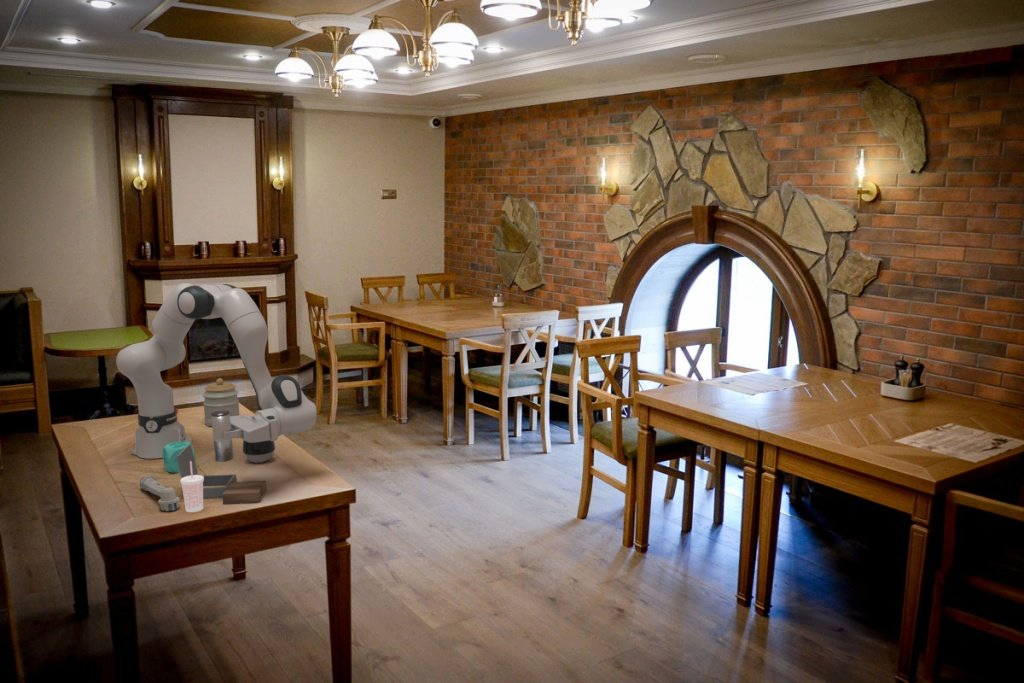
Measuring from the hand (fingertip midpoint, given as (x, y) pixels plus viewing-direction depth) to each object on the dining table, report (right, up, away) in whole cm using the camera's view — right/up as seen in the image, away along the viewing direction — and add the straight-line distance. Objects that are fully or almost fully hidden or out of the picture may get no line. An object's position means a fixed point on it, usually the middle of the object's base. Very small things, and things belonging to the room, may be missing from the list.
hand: (219, 433), depth 238 cm
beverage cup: (-4, -21, -8) cm, 22 cm away
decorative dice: (-22, -15, +26) cm, 37 cm away
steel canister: (+1, -8, +2) cm, 8 cm away
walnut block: (+7, -19, +1) cm, 20 cm away
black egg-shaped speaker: (+1, -13, +34) cm, 36 cm away
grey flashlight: (-17, -20, 0) cm, 26 cm away
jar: (-27, -5, +79) cm, 84 cm away
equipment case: (-4, -18, +6) cm, 19 cm away
